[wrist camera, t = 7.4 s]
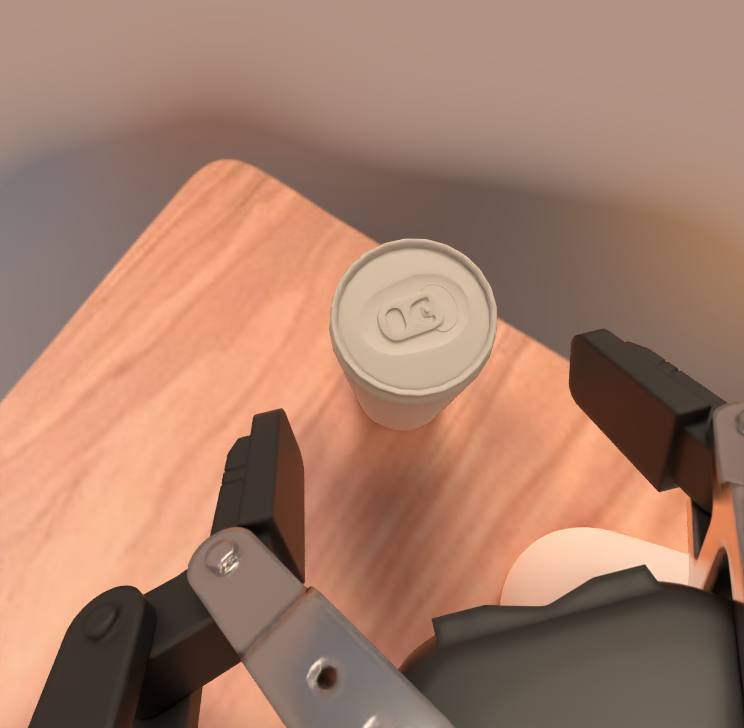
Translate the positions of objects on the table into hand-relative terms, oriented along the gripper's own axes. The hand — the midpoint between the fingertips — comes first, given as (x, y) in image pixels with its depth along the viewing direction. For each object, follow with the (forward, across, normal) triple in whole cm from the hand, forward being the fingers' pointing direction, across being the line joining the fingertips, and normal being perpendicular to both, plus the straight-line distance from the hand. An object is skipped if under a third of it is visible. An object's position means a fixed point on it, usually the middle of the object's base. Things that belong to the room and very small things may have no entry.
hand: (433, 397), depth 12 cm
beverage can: (+10, 0, -7) cm, 12 cm away
